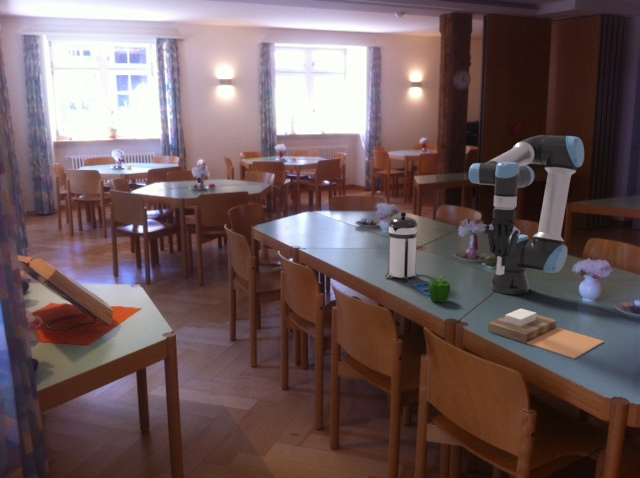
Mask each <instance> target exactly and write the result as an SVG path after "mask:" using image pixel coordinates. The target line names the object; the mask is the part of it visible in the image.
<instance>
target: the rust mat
mask: <svg viewBox="0 0 640 478" xmlns="http://www.w3.org/2000/svg"><path fill="white" fill-rule="evenodd" d="M604 342H605V341H604V340H602V339H598V338H594V337H592V336H588V335H584V334H581V333H578V332H574V331H572V330H571V331H570V330H567V329H564V328H560V327H556V328H555V329H553V330H551V331H549V332H547V333H545V334H543V335H541V336H539V337H537V338H535V339H533V340H531V341H529V342H527V343H526V344H527V345H530V346H533V347H534V348H535V347H536V348H538V349H542V350H544V351H548V352H551V353H554V354H557V355H561V356H563V357H567V358H569V359H572V360H575V359H577V358H579V357H581V356H583V355H584V354H586V353H588V352H589V351H591V350H594V349H595V348H596V347H598V346H600V345H602V344H603V343H604Z"/></svg>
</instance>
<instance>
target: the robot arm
mask: <svg viewBox="0 0 640 478" xmlns="http://www.w3.org/2000/svg"><path fill="white" fill-rule="evenodd" d="M584 161H585V148H584V143H583V140H582V139H581V138H580V137H578V136H574V135H573V136H572V135H546V134H545V135H544V134H539V135H535V136H531V137H528V138H525V139H524V140H521V141H518V142H517V143H516V144H515V145H513V147H512V148H511V149H509V150H507V151H506V152H503V153H501V154H500V155H497V156H496V157H493V158H492V159H490V160H488V161H486V162H484V163H481V162H476V163H475V162H474V163H472V164H471V165H470V166H469V170H468V180H469V181H470V183H472V184H475V185H476V184H478V185H484V186H485V185H486V186H494V193H493V207H494V208H492V218H493V219H492V221H491V223H489V224H488V225H485V231H487V236H488V237H487V238H488V243H489V251H490V253H491V254H494V257H495V259H494V265H496V270H495V272H494V275H493V277H492V280H491V282H490V289H491V290H492V291H494V292H496V293H500V294H503V295H504V294H505V295H514V296H515V295H524V294H527V293H529V289H530V285H529V280H528V277H527V274H526V272H527V271H526V269H528V270H531V271H532V270H533V271H537V272H538V271H539V272H543V273H550V274H556V273H559V272H560V271H561V270H562V268H563V267H564V265H565V263H566V260H567V257H568V246H567V245H565V244H564V243H565V240H564V239H563V237H562V229H563V225H564V224H563V223H564V218H565V210H566V207H567V201H568V195H569V188H570V183H571V178H572V175H574V174H575V173H576V172H577V168H580V167H581V166H582V165H583V163H584ZM531 164H533V165H544V170H545V171H546V172H547V176H546V181H545V182H546V184H545V187H544V188H545V189H544V194H543V199H542V207H541V211H540V218H539V224H538V229H537V232H536V233H535V234H534V235H533V236H532V239H530V238H529V235H527V234H523V233H522V232H523V231H522V229H519V228H517V227H516V225H517V224H516V221H515V220H516V215H517V210H516V207H517V203H518V202H517V201H518V190H519V189H520V188H526V187H527V186H528V187H529V186H530V185H531V184H533V182H534V180H535V171H534V170H533V169H532V167H530V166H529V165H531ZM521 233H522V234H521Z"/></svg>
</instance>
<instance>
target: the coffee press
mask: <svg viewBox="0 0 640 478" xmlns="http://www.w3.org/2000/svg"><path fill="white" fill-rule="evenodd" d="M406 215H407V213H406V212H405V211H402V212H401V213H400V216H396V217H392V218H391V219H390V220H389V222H388V223H387V225H388V234H387V235H388V241H387V244H388V246H387V247H388V248H387V250H388V251H387V273H386V274H385V276H384V278H385V279H390V278H391V277H394V278H398V279H399V278H400V279H403V283H408V282H409V279H408V278H411V277H415V278H418V277H419V275H418V273H417V269H416V267H417V265H416V264H417V240H418V239H417V237H418V231H417V229H418V223H417V222H418V221H416V219H415V218H414V217H410V216H406ZM415 274H416V275H415ZM387 276H388V277H387Z"/></svg>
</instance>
